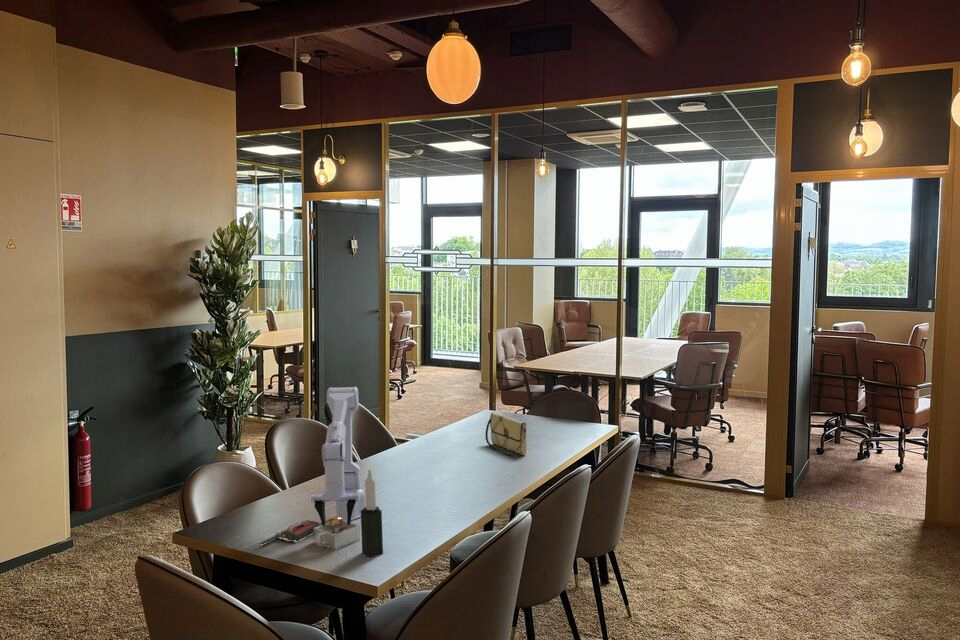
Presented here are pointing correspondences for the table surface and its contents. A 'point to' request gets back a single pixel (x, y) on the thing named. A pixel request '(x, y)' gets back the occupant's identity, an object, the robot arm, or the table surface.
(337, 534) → the square tray with tab
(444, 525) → the table surface
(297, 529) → the walkie-talkie
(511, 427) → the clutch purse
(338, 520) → the square lid with knob
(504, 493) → the table surface
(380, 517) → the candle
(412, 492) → the table surface
